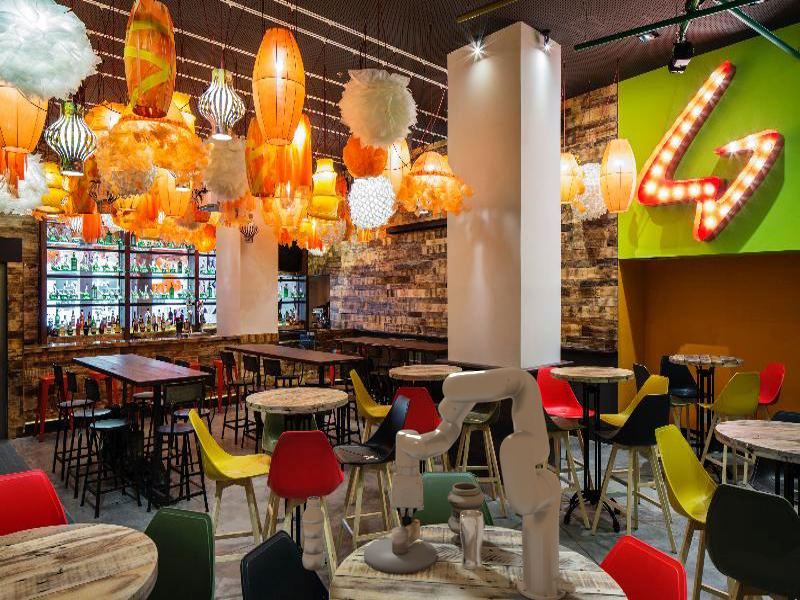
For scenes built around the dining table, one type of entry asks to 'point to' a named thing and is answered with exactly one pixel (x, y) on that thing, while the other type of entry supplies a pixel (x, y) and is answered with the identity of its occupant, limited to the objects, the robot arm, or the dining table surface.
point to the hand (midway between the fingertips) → (406, 527)
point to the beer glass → (471, 538)
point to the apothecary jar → (463, 505)
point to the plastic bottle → (313, 535)
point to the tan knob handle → (405, 537)
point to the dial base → (400, 556)
